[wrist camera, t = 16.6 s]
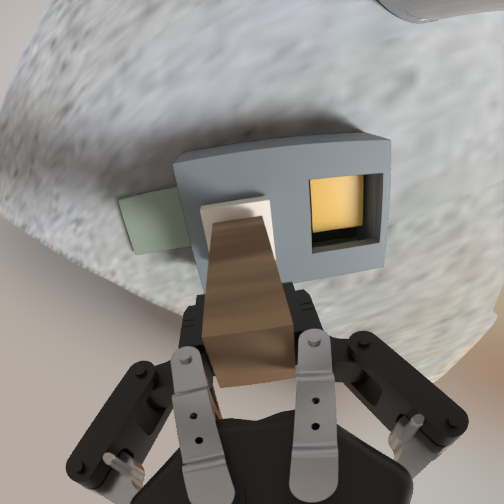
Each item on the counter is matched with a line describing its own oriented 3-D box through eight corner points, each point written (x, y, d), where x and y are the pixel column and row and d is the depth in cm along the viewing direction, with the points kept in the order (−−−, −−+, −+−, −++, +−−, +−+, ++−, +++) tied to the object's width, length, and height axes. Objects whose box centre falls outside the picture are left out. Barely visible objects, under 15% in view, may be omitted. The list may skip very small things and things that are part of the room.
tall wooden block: (212, 223, 20) (201, 337, 11) (262, 215, 20) (293, 324, 11) (221, 265, 22) (220, 387, 12) (267, 258, 22) (295, 377, 12)
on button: (203, 195, 23) (199, 210, 20) (263, 185, 24) (269, 199, 20) (214, 247, 26) (212, 269, 23) (269, 239, 26) (275, 260, 23)
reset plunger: (304, 174, 25) (310, 179, 24) (354, 169, 25) (363, 174, 24) (307, 223, 28) (312, 232, 26) (354, 217, 28) (362, 225, 26)
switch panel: (182, 152, 24) (172, 164, 20) (364, 132, 24) (390, 140, 20) (207, 267, 30) (205, 296, 26) (363, 242, 30) (383, 266, 26)
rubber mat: (120, 198, 26) (118, 200, 25) (178, 186, 26) (177, 188, 25) (137, 252, 28) (135, 255, 28) (191, 243, 28) (191, 246, 28)
